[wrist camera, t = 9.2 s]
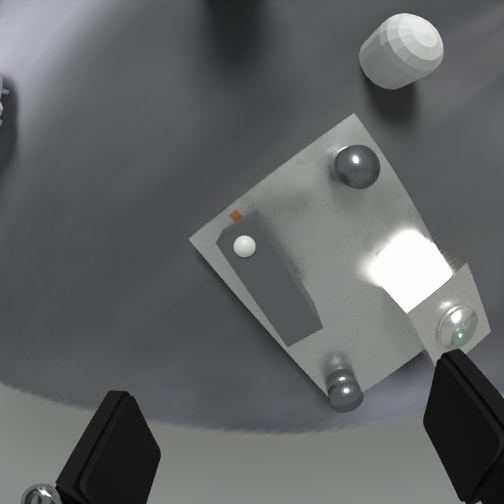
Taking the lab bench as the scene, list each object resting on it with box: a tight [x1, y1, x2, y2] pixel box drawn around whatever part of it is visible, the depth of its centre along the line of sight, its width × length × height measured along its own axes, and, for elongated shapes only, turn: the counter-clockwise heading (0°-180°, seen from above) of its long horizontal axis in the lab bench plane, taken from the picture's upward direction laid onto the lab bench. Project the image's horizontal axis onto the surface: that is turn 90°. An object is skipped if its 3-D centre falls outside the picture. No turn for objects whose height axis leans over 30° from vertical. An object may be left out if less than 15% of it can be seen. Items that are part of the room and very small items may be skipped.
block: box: [216, 209, 323, 347], centre depth 21 cm, size 8×3×6 cm, turn 32°
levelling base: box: [189, 113, 491, 413], centre depth 23 cm, size 16×22×10 cm
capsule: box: [359, 13, 444, 90], centre depth 19 cm, size 5×5×8 cm
